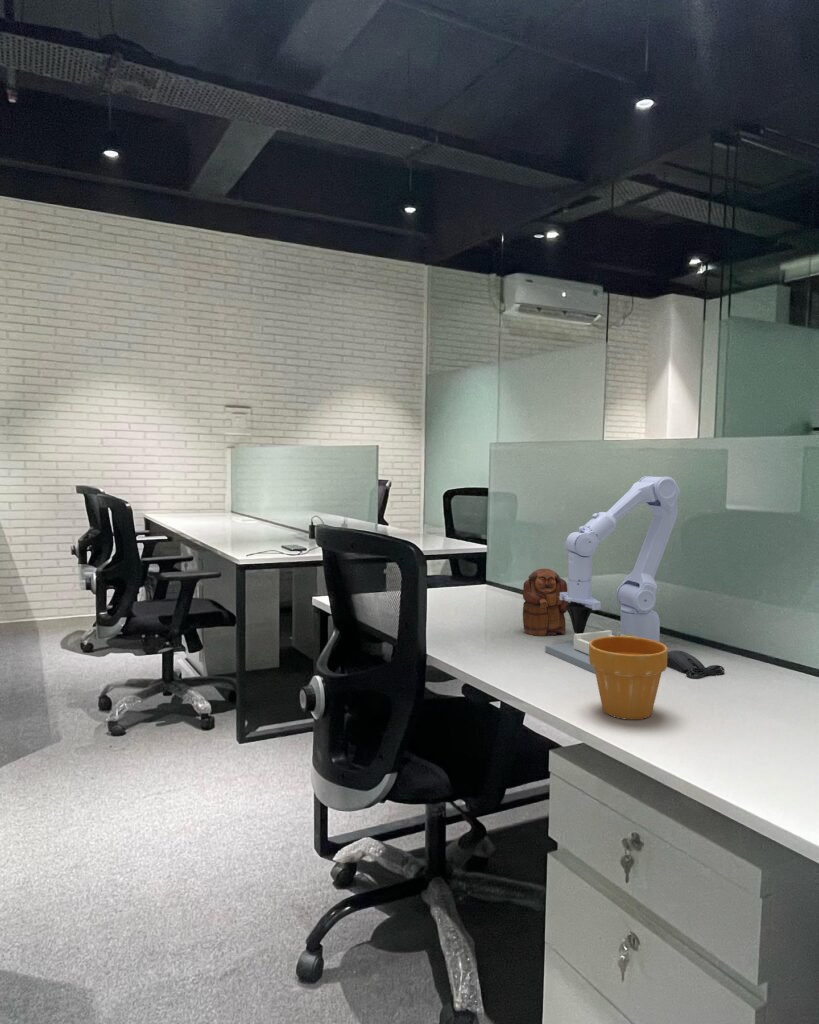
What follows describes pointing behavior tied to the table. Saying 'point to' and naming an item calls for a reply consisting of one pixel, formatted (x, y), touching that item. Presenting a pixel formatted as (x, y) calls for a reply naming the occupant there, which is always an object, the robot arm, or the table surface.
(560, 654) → the base board
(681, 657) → the computer mouse
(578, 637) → the frame
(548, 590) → the wooden figurine
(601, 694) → the flower pot
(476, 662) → the table surface
